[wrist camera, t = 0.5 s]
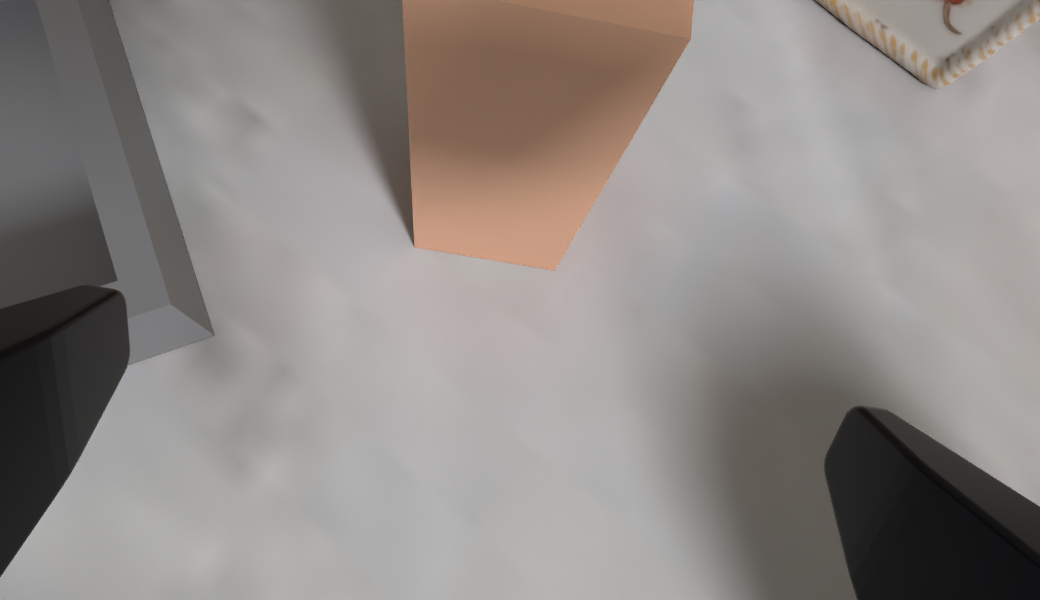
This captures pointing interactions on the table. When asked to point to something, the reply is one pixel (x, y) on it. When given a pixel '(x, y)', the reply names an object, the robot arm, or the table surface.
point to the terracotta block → (526, 114)
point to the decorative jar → (936, 31)
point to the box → (86, 176)
